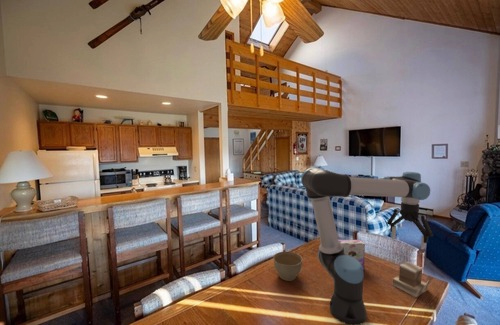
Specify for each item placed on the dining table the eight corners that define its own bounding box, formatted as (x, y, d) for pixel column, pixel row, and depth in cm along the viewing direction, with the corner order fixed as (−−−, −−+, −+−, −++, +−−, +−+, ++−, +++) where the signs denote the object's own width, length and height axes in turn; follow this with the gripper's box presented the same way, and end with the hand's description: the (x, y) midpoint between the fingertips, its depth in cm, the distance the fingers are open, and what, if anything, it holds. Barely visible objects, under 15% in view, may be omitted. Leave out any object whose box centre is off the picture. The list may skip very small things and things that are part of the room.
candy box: (360, 265, 138) (361, 239, 137) (364, 270, 132) (365, 243, 131) (337, 264, 139) (337, 238, 138) (340, 269, 134) (340, 243, 132)
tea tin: (414, 287, 111) (415, 272, 110) (398, 279, 117) (399, 265, 116) (421, 282, 114) (422, 267, 114) (405, 275, 121) (406, 261, 120)
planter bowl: (308, 279, 124) (308, 261, 123) (284, 288, 117) (283, 268, 116) (291, 265, 139) (291, 248, 138) (268, 272, 132) (268, 254, 131)
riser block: (415, 298, 109) (416, 290, 109) (392, 285, 119) (392, 278, 118) (427, 291, 114) (427, 283, 114) (403, 279, 124) (404, 272, 123)
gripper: (444, 207, 104) (440, 251, 106) (388, 196, 126) (386, 233, 128) (436, 210, 101) (433, 255, 102) (381, 198, 122) (379, 236, 124)
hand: (407, 243), depth 115 cm, fingers open, 13 cm apart
